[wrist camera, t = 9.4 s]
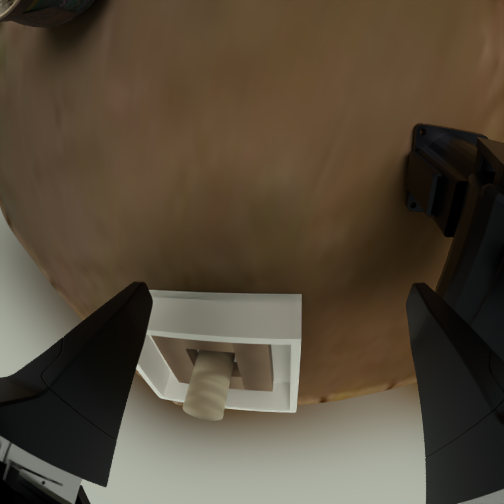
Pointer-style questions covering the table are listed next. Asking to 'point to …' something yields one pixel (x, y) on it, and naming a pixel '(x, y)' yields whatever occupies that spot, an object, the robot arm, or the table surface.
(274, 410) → the open box
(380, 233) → the table surface
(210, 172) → the table surface
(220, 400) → the peg
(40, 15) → the mate gourd
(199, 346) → the bore plate
